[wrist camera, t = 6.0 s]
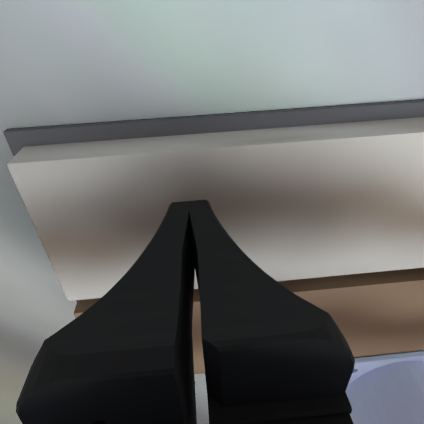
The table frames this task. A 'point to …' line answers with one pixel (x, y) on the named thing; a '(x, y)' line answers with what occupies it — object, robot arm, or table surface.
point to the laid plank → (349, 310)
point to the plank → (233, 198)
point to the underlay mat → (211, 123)
